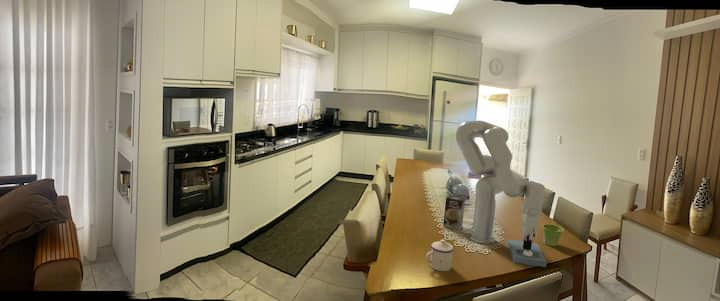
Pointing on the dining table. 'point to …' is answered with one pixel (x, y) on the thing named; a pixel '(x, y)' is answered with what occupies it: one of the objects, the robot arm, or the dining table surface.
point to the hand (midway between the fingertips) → (526, 248)
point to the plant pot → (551, 234)
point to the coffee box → (454, 212)
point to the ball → (527, 253)
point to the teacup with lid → (440, 255)
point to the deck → (518, 257)
